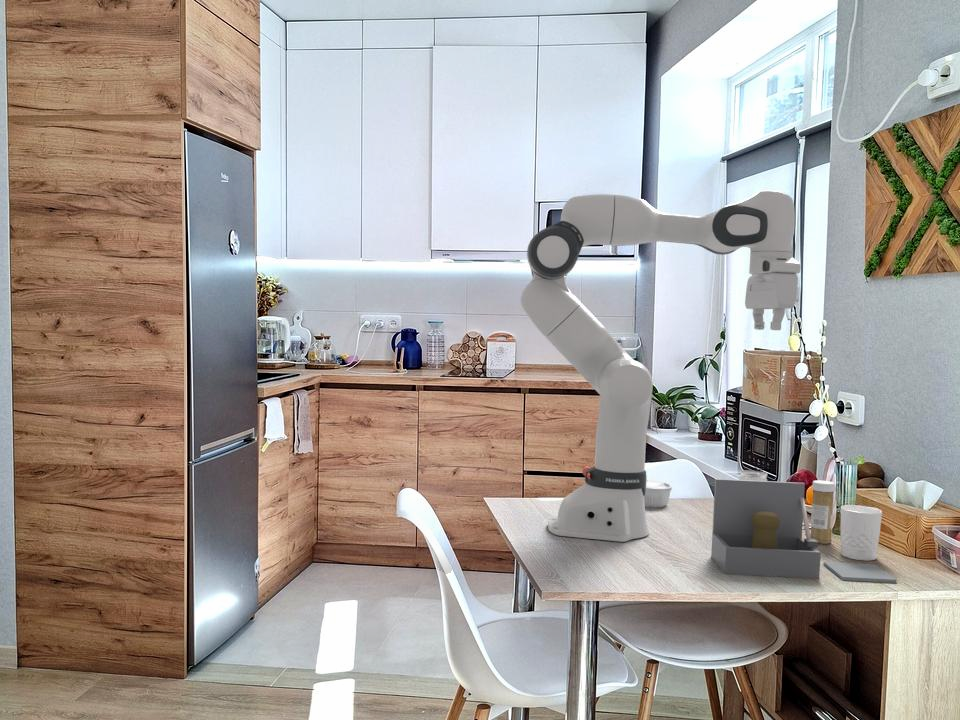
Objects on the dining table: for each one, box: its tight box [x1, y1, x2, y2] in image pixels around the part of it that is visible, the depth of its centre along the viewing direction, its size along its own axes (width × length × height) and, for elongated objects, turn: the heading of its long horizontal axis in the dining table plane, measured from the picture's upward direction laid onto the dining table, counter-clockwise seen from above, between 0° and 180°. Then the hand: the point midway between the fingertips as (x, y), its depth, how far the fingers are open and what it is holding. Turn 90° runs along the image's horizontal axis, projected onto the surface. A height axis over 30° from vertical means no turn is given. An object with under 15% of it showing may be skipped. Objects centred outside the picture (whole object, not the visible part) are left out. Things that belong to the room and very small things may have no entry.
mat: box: [822, 561, 898, 584], centre depth 164 cm, size 10×10×1 cm
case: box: [710, 478, 822, 580], centre depth 165 cm, size 18×12×16 cm, turn 87°
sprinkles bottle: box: [810, 479, 836, 545], centre depth 187 cm, size 5×5×14 cm
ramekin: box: [644, 479, 673, 508], centre depth 221 cm, size 11×11×5 cm
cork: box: [751, 511, 780, 549], centre depth 165 cm, size 6×6×11 cm
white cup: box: [839, 504, 883, 562], centre depth 176 cm, size 8×8×10 cm
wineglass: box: [737, 469, 769, 481], centre depth 204 cm, size 7×7×12 cm
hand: (767, 330), depth 185 cm, fingers open, 8 cm apart
